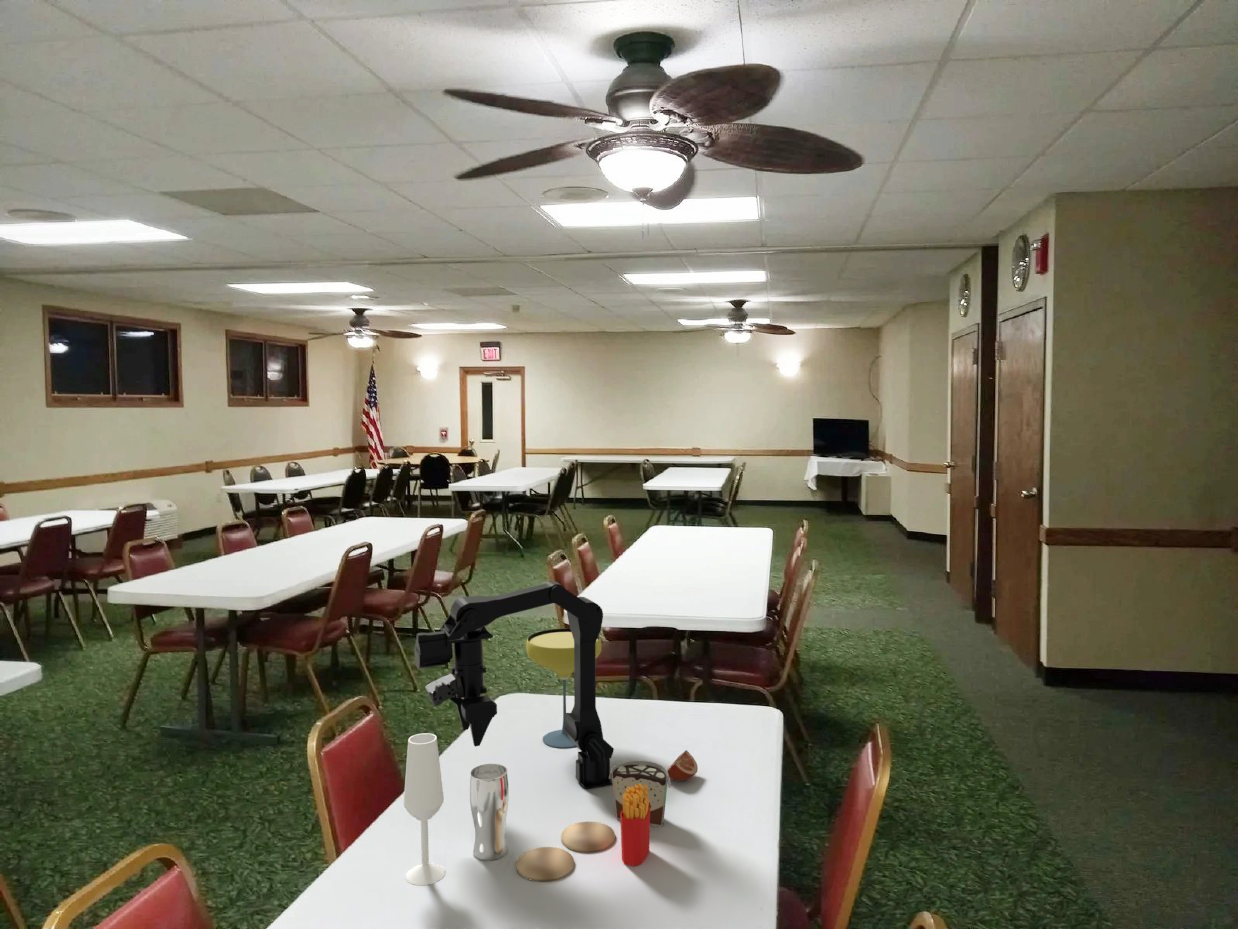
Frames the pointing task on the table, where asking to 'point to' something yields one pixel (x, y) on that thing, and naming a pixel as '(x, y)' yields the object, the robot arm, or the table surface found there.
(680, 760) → the fruit slice
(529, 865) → the coaster
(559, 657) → the cocktail glass
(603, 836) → the coaster
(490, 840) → the beer glass
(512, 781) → the table surface
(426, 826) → the champagne flute
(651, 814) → the food container
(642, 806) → the french fries
